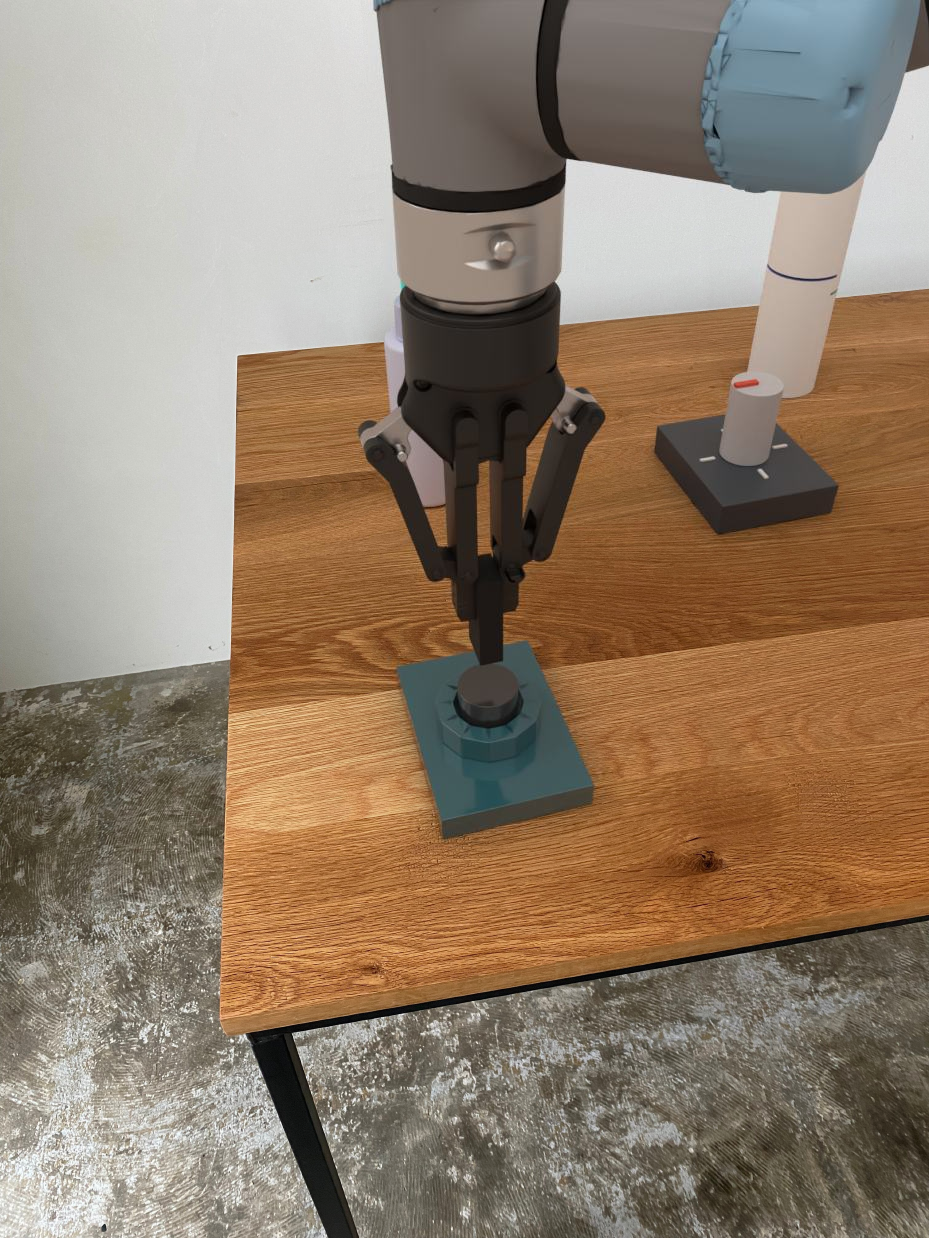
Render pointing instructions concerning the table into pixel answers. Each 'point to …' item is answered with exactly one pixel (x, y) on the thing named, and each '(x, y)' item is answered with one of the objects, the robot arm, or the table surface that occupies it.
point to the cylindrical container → (802, 285)
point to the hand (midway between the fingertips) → (485, 648)
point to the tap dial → (750, 418)
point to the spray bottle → (421, 458)
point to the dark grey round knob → (488, 695)
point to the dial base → (743, 477)
